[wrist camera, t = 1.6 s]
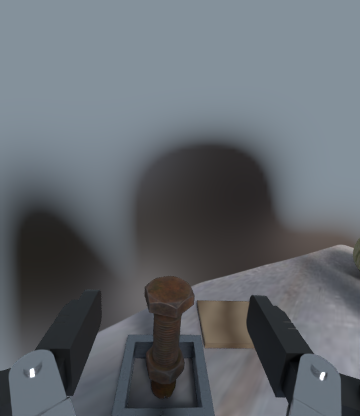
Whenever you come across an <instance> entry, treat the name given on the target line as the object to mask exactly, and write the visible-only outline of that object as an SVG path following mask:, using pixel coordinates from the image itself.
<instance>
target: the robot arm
mask: <svg viewBox="0 0 360 416" xmlns="http://www.w3.org/2000/svg"><path fill="white" fill-rule="evenodd" d="M101 315H102V311H101V291H100V290H84V292H83V293H82V295H81V297H80V299H79V300H72V301H70V302H69V303H68V304H66V305H65V306H64V307H63V309H62V310H61V311H60V313H59V315H58V317H57V318H56V319H55V321H54V323H53V324H52V325H51V327H50V328H49V330H48V331H47V333H46V334H45V336H44V337H43V339H42V340H41V342H40V343H39V345H38V346H37V348H36V349H35V351H32V352H30V353H28V354H26V355H25V356H23V357H21V358H20V359H19V360H18V361H16V362H15V364H14V365H13V366H12V368H10V369H7V370H3V371H0V416H76V414H75V411H74V408H73V404H72V402H71V399H70V397H67V396H73V395H74V392H75V389H76V387H77V384H78V382H79V379H80V377H81V374H82V371H83V369H84V366H85V364H86V361H87V359H88V356H89V353H90V351H91V348H92V346H93V343H94V341H95V338H96V335H97V333H98V330H99V327H100V324H101V317H102V316H101ZM246 325H247V330H248V333H249V336H250V338H251V340H252V343H253V345H254V347H255V350H256V352H257V354H258V357H259V359H260V361H261V364H262V366H263V368H264V371H265V373H266V375H267V378H268V380H269V382H270V385H271V387H272V389H273V392H274V394H275V396H276V397H286V399H287V401H288V403H289V404H288V408H287V412H286V416H360V379H356V378H353V377H350V376H346V375H343V374H340V373H338V371H337V370H336V368H335V367H334V366H333V365H332V364H331V363H330V362H328V361H327V360H325V359H324V358H322V357H320V356H318V355H315V354H314V353H313V352H312V350H311V349H310V347H309V346H308V345H307V343H306V342H305V340H304V339H303V338H302V336H301V335H300V333H299V332H298V330H296V328H295V326H294V325H293V323H291V320H290V319H289V318H288V316H287V315H286V313H285V312H283V311H282V310H281V309H280V308H278V307H277V306H273V305H272V304H271V302H270V301H269V299H268V298H267V296H257V295H252V296H251V297H250V301H249V307H248V313H247V319H246Z"/></svg>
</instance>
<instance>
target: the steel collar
mask: <svg viewBox="0 0 360 416" xmlns="http://www.w3.org/2000/svg"><path fill="white" fill-rule="evenodd" d="M152 346H153V335H128V338H127V343H126V347H125V352H124V357H123V362H122V367H121V372H120V376H119V381H118V386H117V391H116V396H115V400H114V405H113V410H112V415H111V416H215V414H214V409H213V403H212V397H211V392H210V386H209V380H208V374H207V369H206V363H205V357H204V352H203V346H202V340H201V335H180V339H179V347H180V349H181V351H182V354H183V358H192V362H193V370H194V379H195V387H196V396H197V405H198V408H127V406H128V400H129V393H130V387H131V380H132V374H133V367H134V361H135V358H146V353H147V351H148V350H149V349H150V348H151V347H152Z"/></svg>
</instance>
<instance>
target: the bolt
mask: <svg viewBox="0 0 360 416" xmlns="http://www.w3.org/2000/svg"><path fill="white" fill-rule="evenodd" d="M145 298H146V302H147V306H148V309H149V312H150V313H154V329H153V346H152V347H151V348H150V349H149V350H148V351H147V353H146V364H147V370H148V375H149V378H150V379H151V387H152V391H153V393H154V395H155V396H156V397H158V398H160V399H162V398H164V397H165V396H166V395H167V396H166V398H168V397H170V396H171V395H172V392H173V391H174V389H175V386H176V379H177V378H178V377H179V376H180V374H181V373H182V371H183V370H184V364H185V362H184V358H183V354H182V351H181V349H180V347H179V339H180V326H181V316H182V313H183V312H185V311H186V310H187V309H189V308H190V307H191V306H193V305H194V293H193V290H192V288H191V286H190V285H189V283H188V282H186V281H184V280H182V279H180V278H178V277H174V276H166V277H159V278H156V279H154V280H152V281H151V282H150V283H148V284H147V286H145Z"/></svg>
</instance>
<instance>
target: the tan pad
mask: <svg viewBox="0 0 360 416" xmlns="http://www.w3.org/2000/svg"><path fill="white" fill-rule="evenodd" d="M248 307H249V302H247V301H198V300H197V308H198V313H199V318H200V324H201V329H202V334H203V340H204V345H205V348H255V347H254V345H253V343H252V340H251V338H250V336H249V333H248V330H247V325H246V319H247V313H248Z"/></svg>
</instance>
